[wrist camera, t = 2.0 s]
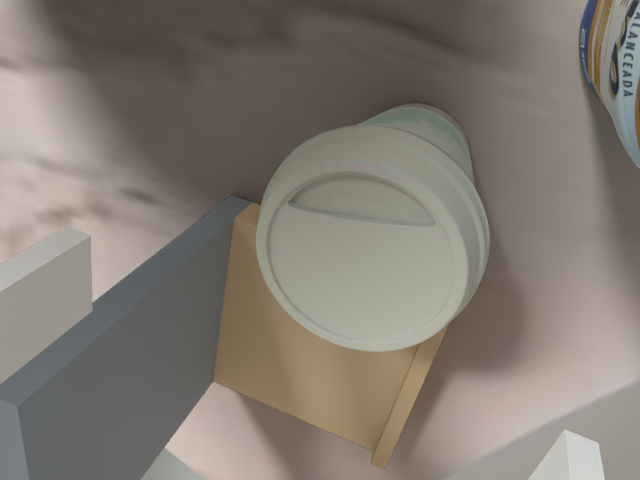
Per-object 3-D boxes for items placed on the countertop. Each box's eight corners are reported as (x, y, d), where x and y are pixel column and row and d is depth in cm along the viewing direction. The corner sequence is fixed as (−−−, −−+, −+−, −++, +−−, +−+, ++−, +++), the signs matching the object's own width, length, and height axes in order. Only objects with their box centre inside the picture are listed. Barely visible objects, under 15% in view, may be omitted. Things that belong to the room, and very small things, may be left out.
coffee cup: (535, 143, 25) (550, 258, 15) (428, 256, 30) (383, 401, 19) (397, 38, 25) (316, 82, 15) (311, 168, 29) (205, 269, 19)
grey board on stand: (231, 194, 32) (-20, 389, 17) (461, 276, 29) (405, 594, 14) (211, 352, 39) (23, 587, 24) (395, 429, 37) (311, 748, 22)
